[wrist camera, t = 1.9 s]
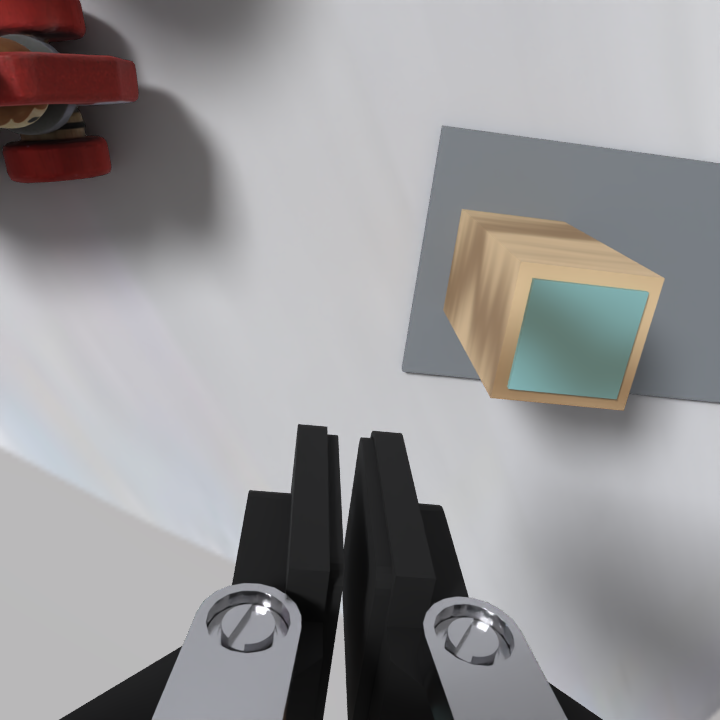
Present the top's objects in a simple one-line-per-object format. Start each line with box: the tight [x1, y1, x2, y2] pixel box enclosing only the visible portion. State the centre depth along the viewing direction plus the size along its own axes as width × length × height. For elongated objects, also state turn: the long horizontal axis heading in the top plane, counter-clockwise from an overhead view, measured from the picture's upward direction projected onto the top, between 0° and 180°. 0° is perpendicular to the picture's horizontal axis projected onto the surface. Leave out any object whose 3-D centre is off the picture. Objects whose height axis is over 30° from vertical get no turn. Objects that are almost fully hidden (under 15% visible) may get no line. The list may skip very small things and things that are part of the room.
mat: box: [402, 126, 720, 403], centre depth 33 cm, size 12×18×1 cm, turn 83°
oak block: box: [443, 209, 665, 411], centre depth 28 cm, size 5×5×10 cm
